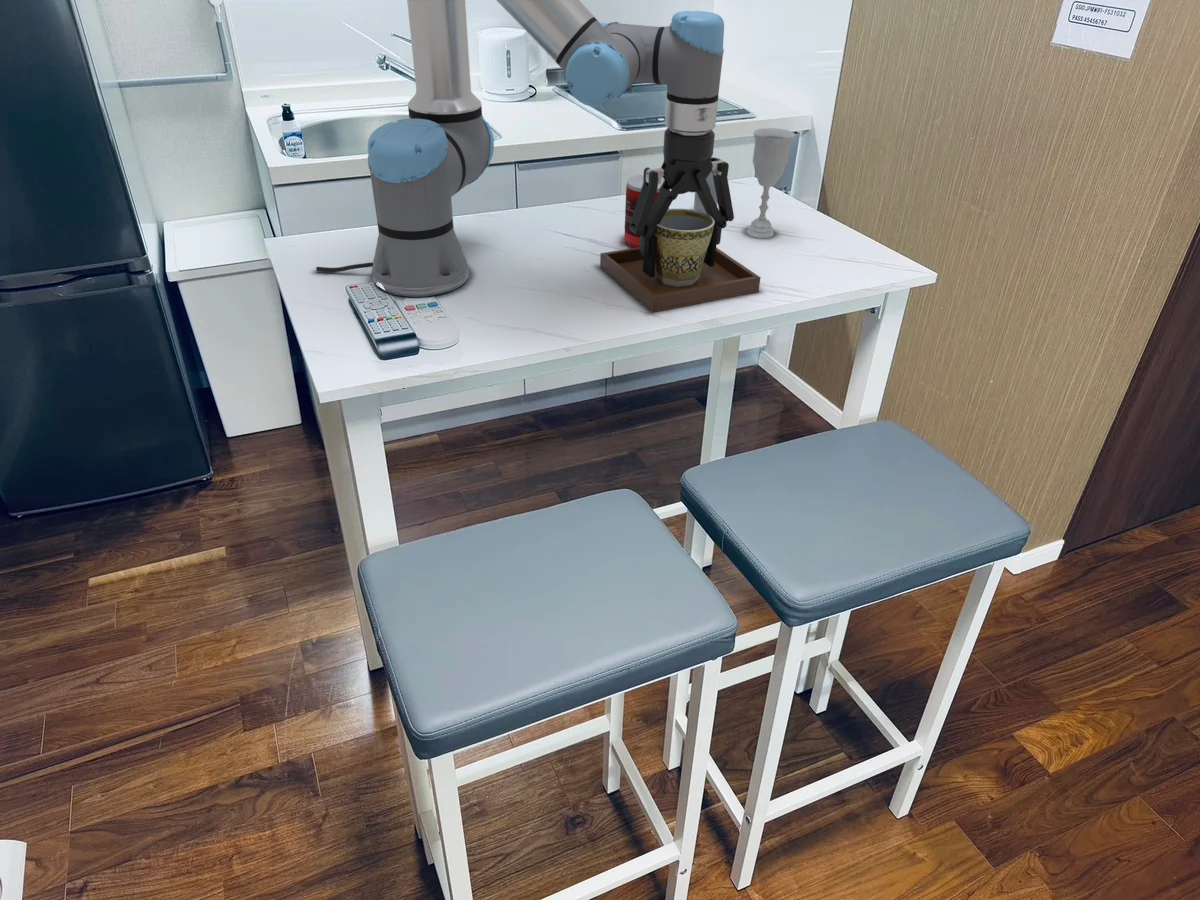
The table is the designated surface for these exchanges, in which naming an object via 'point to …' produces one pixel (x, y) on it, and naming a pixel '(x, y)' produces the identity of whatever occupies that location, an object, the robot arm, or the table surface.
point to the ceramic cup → (682, 245)
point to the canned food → (632, 197)
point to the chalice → (768, 171)
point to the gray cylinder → (710, 182)
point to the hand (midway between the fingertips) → (678, 268)
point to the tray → (657, 296)
